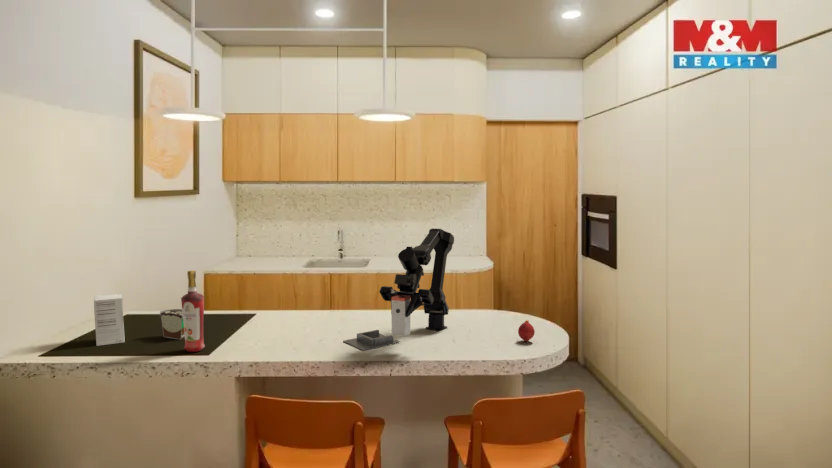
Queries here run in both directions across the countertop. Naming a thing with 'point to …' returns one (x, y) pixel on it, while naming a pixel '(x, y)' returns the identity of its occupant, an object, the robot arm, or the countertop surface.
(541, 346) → the countertop surface
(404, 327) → the block
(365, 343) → the plate
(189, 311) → the liquor
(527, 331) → the onion
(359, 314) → the countertop surface
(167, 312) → the food container
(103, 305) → the supplement box
